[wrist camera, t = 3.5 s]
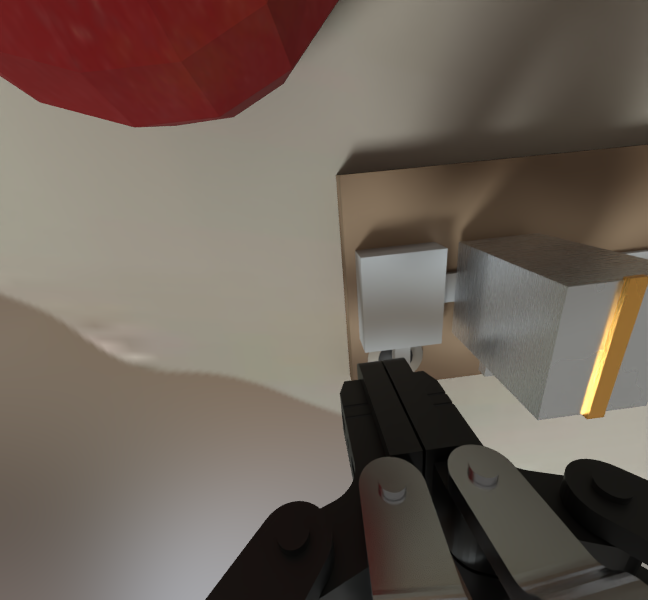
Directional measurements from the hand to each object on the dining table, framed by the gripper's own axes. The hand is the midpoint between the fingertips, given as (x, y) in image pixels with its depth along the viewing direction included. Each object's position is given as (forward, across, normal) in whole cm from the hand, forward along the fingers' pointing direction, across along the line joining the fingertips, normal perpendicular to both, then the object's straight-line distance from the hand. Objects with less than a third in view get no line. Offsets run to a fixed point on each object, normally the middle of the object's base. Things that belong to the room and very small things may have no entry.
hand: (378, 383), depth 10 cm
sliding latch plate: (+8, -10, 0) cm, 13 cm away
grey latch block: (+6, -8, +1) cm, 10 cm away
